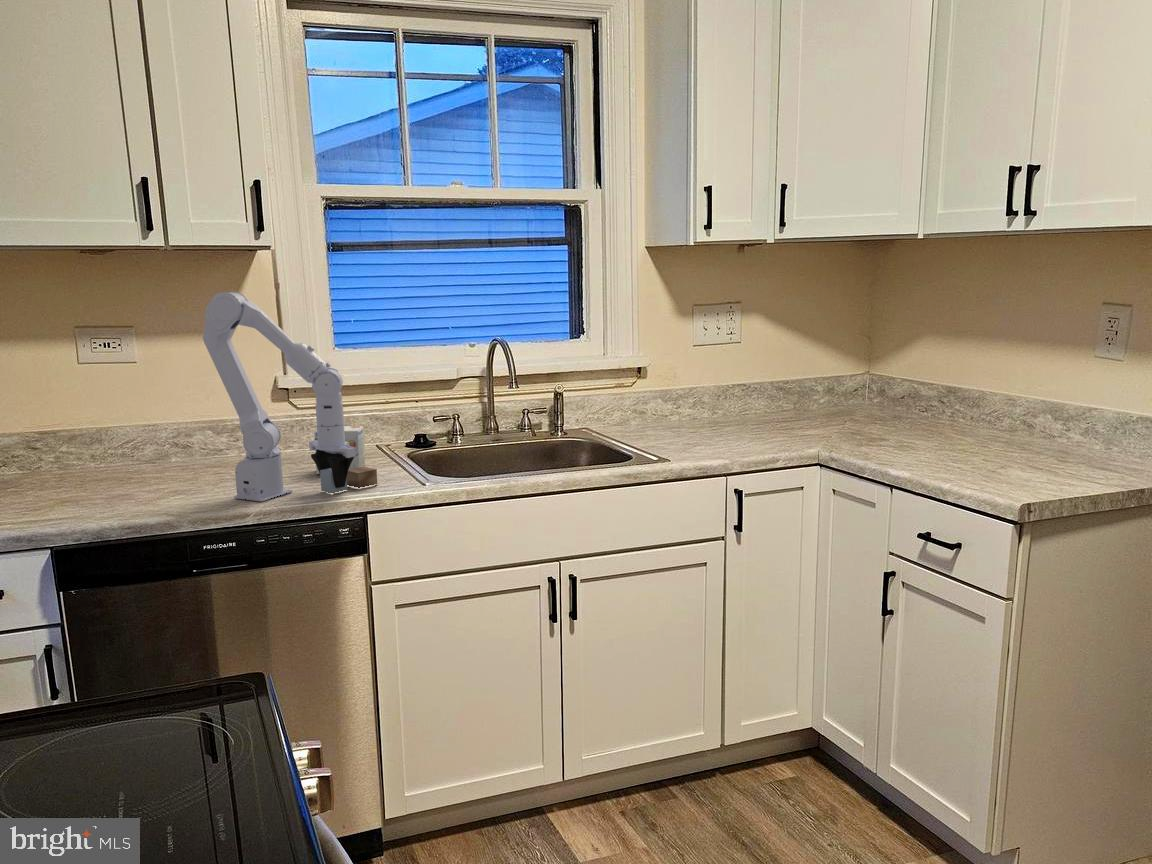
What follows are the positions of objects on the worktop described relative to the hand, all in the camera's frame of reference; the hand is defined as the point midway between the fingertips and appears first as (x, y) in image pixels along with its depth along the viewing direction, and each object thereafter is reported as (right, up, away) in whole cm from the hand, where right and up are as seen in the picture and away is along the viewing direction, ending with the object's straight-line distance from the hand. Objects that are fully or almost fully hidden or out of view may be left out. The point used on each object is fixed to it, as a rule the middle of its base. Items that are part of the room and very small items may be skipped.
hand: (334, 485), depth 196 cm
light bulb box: (-4, +2, +20) cm, 21 cm away
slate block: (0, -1, 0) cm, 1 cm away
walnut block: (+5, -1, +5) cm, 7 cm away
